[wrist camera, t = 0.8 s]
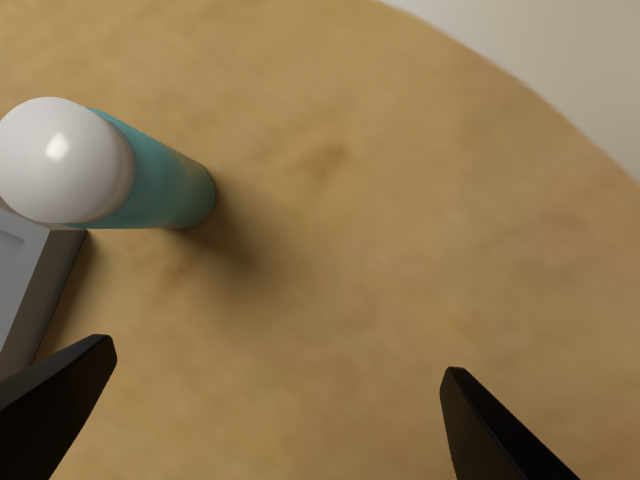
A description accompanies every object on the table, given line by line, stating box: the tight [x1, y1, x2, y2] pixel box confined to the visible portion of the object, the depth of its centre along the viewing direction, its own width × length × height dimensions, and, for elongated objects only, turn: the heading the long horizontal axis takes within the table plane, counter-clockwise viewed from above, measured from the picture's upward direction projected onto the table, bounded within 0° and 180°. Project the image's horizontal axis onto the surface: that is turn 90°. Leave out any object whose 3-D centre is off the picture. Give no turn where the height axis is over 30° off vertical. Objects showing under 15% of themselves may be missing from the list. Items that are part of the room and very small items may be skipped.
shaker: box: [0, 97, 216, 229], centre depth 17 cm, size 5×5×10 cm
